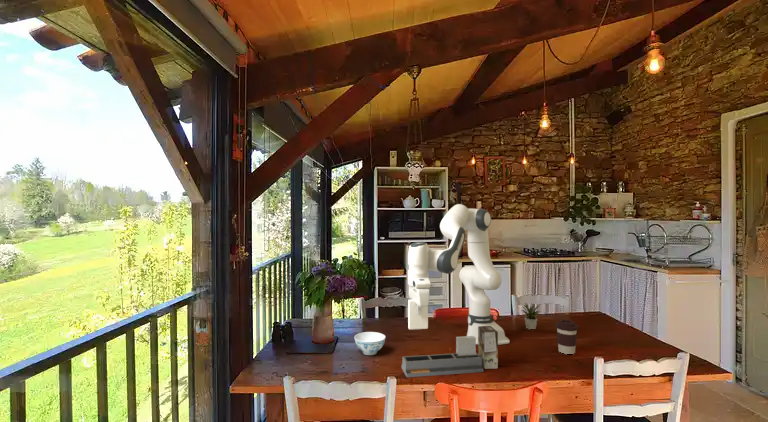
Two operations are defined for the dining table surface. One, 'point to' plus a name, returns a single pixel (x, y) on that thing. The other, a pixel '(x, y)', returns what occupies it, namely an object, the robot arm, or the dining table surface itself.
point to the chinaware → (369, 342)
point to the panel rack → (445, 361)
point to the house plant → (531, 316)
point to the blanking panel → (417, 316)
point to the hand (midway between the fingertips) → (417, 312)
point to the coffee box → (488, 346)
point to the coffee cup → (566, 336)
